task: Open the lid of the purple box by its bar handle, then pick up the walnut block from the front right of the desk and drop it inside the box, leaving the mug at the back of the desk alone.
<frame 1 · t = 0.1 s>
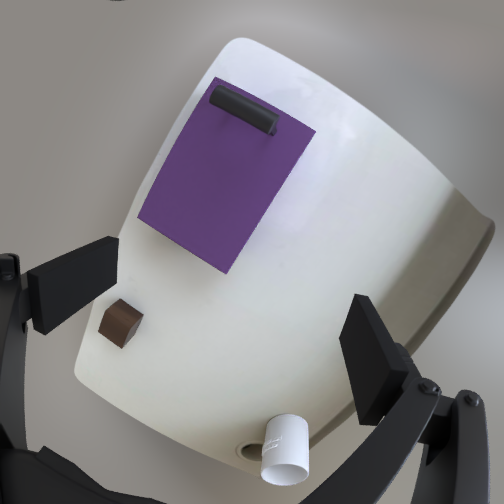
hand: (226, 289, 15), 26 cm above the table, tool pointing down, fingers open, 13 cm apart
mug: (281, 431, 51), on the table
block: (127, 316, 48), on the table
purple hinged box lid: (212, 174, 28), point 12 cm above the table, hinge at 0.0°
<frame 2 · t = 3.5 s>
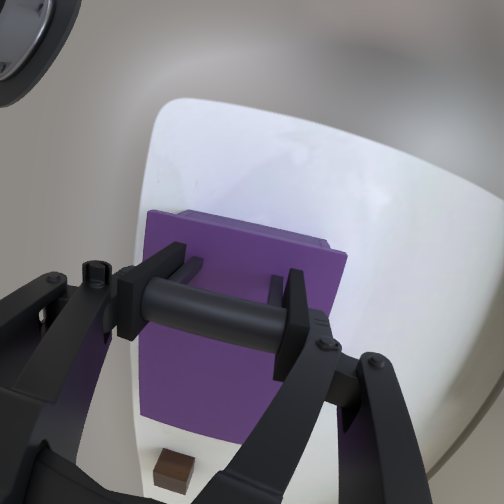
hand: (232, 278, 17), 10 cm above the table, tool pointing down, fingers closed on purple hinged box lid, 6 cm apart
block: (178, 460, 37), on the table
purple hinged box lid: (209, 386, 17), point 12 cm above the table, hinge at 0.0°, touching gripper
purple box: (237, 312, 29), on the table
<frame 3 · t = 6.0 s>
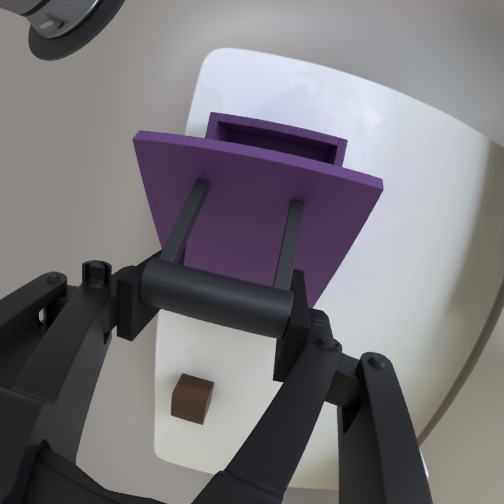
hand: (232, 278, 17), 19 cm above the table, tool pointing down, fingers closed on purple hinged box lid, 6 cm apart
block: (196, 389, 43), on the table
purple hinged box lid: (231, 301, 19), point 17 cm above the table, hinge at 41.5°, touching gripper
purple box: (264, 208, 35), on the table
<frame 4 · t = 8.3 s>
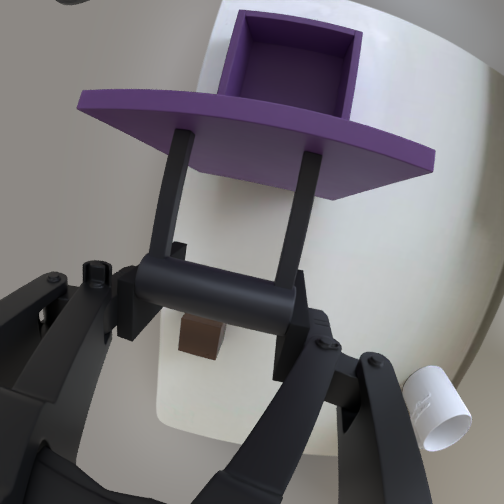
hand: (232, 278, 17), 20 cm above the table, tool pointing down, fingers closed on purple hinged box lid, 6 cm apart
mug: (418, 392, 40), on the table
block: (208, 321, 40), on the table
purple hinged box lid: (247, 219, 18), point 18 cm above the table, hinge at 81.6°, touching gripper
purple box: (286, 108, 32), on the table
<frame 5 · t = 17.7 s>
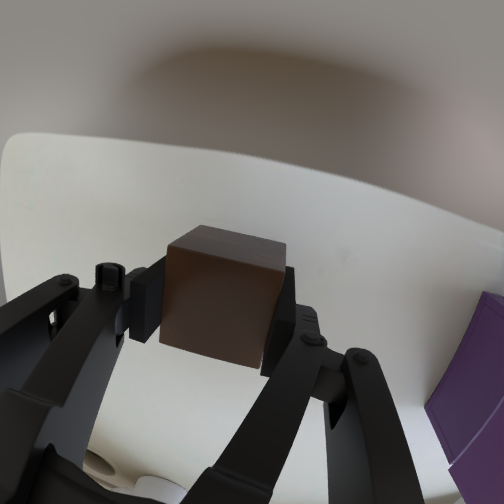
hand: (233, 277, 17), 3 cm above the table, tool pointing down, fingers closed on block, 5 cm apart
mug: (151, 484, 31), on the table
block: (234, 274, 18), point 3 cm above the table, touching gripper
when the fingers open (7 cm above the table, at t = 26.6 s): block drops 6 cm, resting on purple box.
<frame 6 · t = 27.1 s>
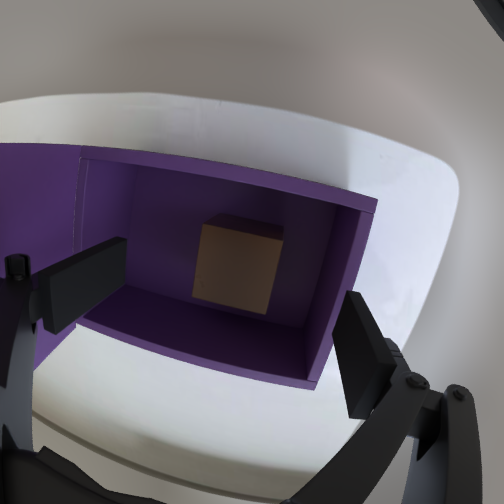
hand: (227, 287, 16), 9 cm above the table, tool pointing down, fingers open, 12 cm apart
block: (245, 250, 23), point 1 cm above the table, touching purple box
purple box: (222, 243, 24), on the table
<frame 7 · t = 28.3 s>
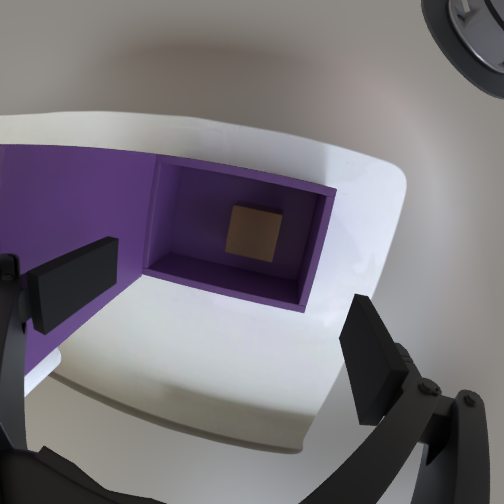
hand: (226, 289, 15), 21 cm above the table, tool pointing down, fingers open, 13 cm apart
mug: (40, 343, 46), on the table
block: (257, 225, 35), point 1 cm above the table, touching purple box
purple hinged box lid: (58, 227, 20), point 18 cm above the table, hinge at 88.7°
purple box: (241, 221, 36), on the table
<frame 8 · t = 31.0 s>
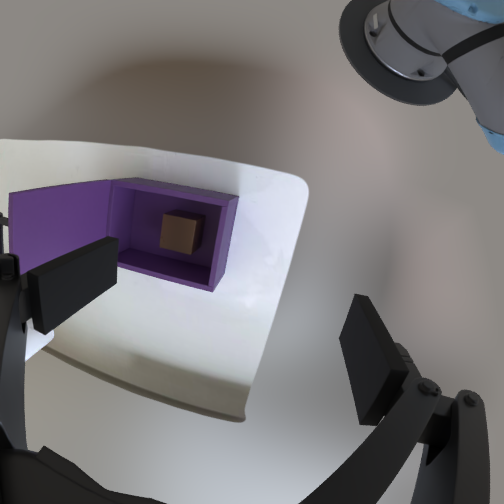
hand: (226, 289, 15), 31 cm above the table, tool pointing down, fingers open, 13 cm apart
mug: (38, 323, 58), on the table
block: (188, 227, 46), point 1 cm above the table, touching purple box
purple hinged box lid: (46, 231, 31), point 18 cm above the table, hinge at 88.7°
purple box: (178, 224, 47), on the table
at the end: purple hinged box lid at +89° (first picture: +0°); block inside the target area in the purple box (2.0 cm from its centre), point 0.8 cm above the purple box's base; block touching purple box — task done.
